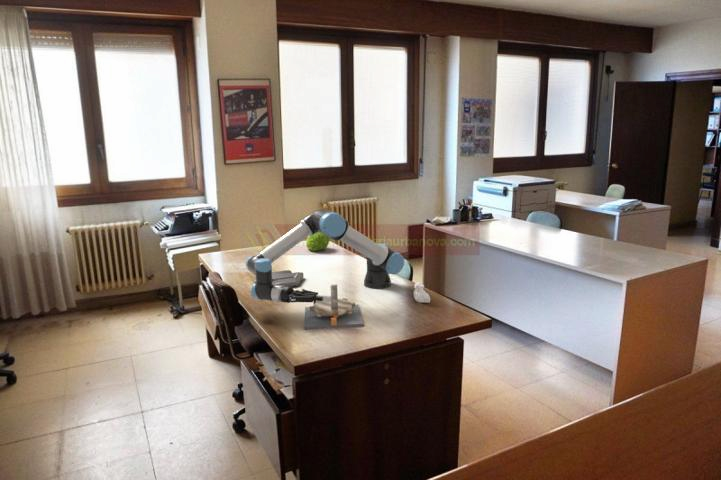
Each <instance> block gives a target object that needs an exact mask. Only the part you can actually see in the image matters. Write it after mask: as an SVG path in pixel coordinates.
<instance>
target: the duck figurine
mask: <svg viewBox="0 0 721 480" xmlns="http://www.w3.org/2000/svg"><path fill="white" fill-rule="evenodd" d="M413 286H414V290H413V292H412V293H413V298H414V300H415V301H416V302H418V303H427V304H429V303H430V302H431V297H430V294H429V293H428V292H426V290H424V288H425V285H424V284H422V283H421V282H419V281H418V282H417V281H416V282H415V283H414V285H413Z"/></svg>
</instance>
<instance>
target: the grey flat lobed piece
mask: <svg viewBox="0 0 721 480" xmlns="http://www.w3.org/2000/svg"><path fill="white" fill-rule="evenodd" d="M303 280H304V273H303V272H302V271H301V272H292V270H290V269H286V270H277V271H272V285H280V286H289V287H292V288H294V287H298V286H299V285H300V284H301V283H302V281H303ZM255 283H256V279H255V280H254V284H255Z"/></svg>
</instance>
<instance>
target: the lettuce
mask: <svg viewBox="0 0 721 480" xmlns="http://www.w3.org/2000/svg"><path fill="white" fill-rule="evenodd" d="M305 241H306V242H305V246H306V248H307V249H308V250H309V249H310V251H311V250H313V251H312V252H315V251H323V250H325V249H327V247H328V246H329V243H330V237H328V236H326V235H325V234H323V233H320V232H318V233H315V234H314V235H312V236H308V237H306V240H305Z"/></svg>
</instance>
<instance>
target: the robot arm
mask: <svg viewBox="0 0 721 480" xmlns="http://www.w3.org/2000/svg"><path fill="white" fill-rule="evenodd" d="M318 232H320V233H323V234H325V235H326V236H328V237H329V239H332V240H333V241H334V242H338V241H340V242H343V243H344V244H346V245H347V246H348V247H350V248H352V249H354V250H355V251H357V252H359V253H360V254H362V255H363V256H364V257H366V273H365V276H364V279H363V285H364V286H365V287H366V288H370V289H385V288H389V287H390V286H391V285H392V279H391V277H390V275H397V274H398V273H400V272H401V271H402V270H403V268H404V265H405V258H404V255H402V254H401V253H400V252H397V251H395V250H393V249H391V248H390V247H389V246H388V244H387V243H377V242H375V241H373V240H372V239H370V238H369V237H367V236H366V235H364V233H361V232H360V231H358V230H356V229H355V228H353V227H352V226H351V225H350V223H349V221H348V220H347V219H345V218H344V217H343V215H341V214H340V213H337V212H335V211H331V210H328V209H322V208H320V209H317V210H314V211H312V212H311V213H310V214H308V215H306V216H305V217H304V218H302V219H301V220H300V221H299V224H297V225H296V226H295V227H293V228H292V229H291V230H289V231H288V232H287V233H285V234H284V235H282V236H281V237H280V238H278V239H277V240H275V241H274V242H273V243H271V245H270V244H269V246H267V247H266V248H264V249H263V250H262V251H260V252H259V253H258V254H256V255H252V256H249V257H247V259H246V261H245V266H246V268H247V270H248V271H249V272H251V273H252V274H253V275H254V276H255V280H256V283H255V282H254V283H253V284H252V285H251V290H250V296H251V297H252V298H253V299H254V300H255V299H256V300H259V301H268V302H269V301H270V302H276V303H284V304H285V303H286V304H290V303H313V302H314V303H316V301H321V302H331V295H325V294H319V292H316V291H311V290H307V289H305V288H301V290H299V289H296V290H295V289H294V287H289V286H280V285H272V272H273V269H272V268H273V265H272V263H274V262H275V261H277V259H279V258H280V257H282V256H284V255H285V254H286V253H287V252H288V251H290V250H292V249H293V248H294V247H295V246H297V245H299V244H300V243H301V242H302V241H304V240H305V239H307V237H308V236H312V235H314V234H315V233H318Z"/></svg>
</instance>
